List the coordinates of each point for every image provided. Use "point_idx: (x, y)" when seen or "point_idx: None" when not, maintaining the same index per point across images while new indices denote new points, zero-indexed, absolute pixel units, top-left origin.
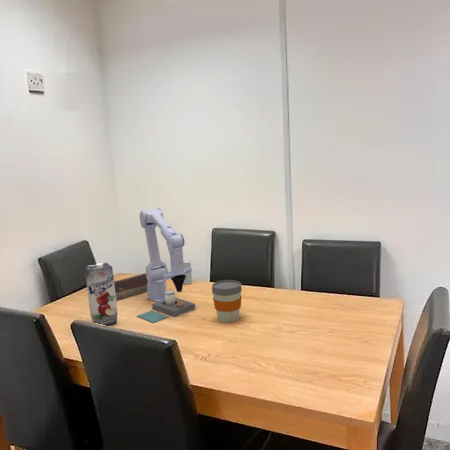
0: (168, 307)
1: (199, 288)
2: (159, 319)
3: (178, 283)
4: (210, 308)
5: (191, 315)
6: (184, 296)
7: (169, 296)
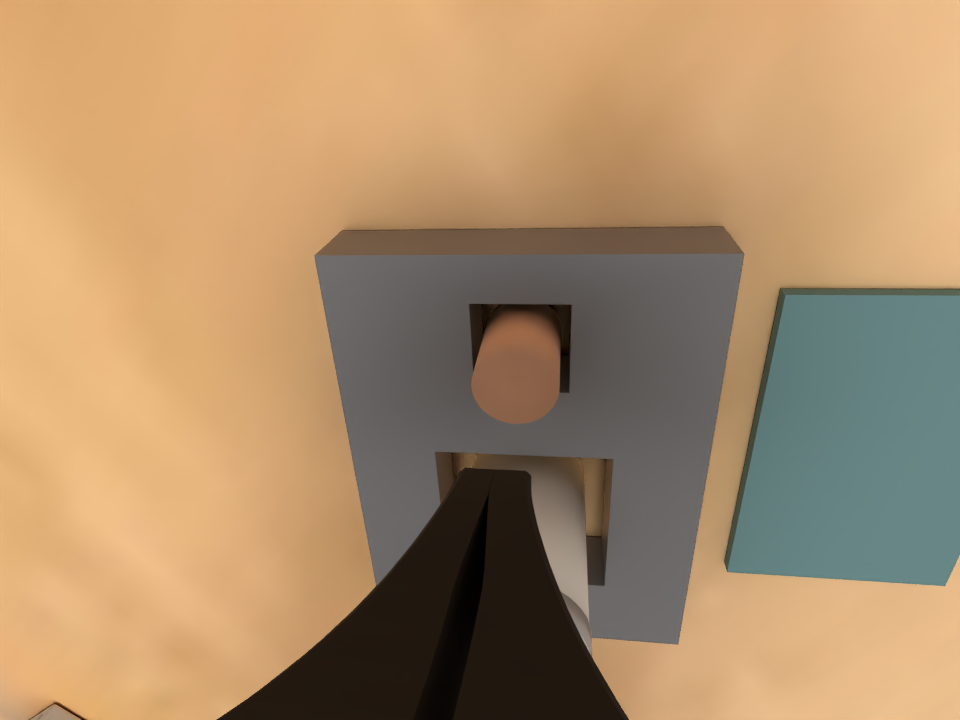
0: (658, 437)
1: (26, 601)
2: (949, 301)
3: (583, 651)
4: (168, 60)
5: (533, 68)
6: (233, 578)
7: (566, 579)
